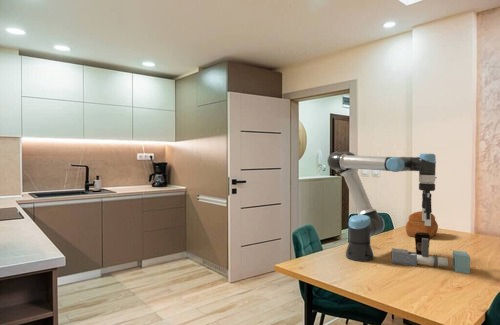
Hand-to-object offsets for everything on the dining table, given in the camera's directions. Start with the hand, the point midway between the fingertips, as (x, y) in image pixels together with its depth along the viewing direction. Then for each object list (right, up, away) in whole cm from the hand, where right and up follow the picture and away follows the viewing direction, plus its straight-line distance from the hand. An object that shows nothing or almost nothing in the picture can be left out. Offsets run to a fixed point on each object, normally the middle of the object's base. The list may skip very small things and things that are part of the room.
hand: (426, 223), depth 170 cm
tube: (-3, -22, +1) cm, 23 cm away
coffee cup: (+7, -22, +17) cm, 29 cm away
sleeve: (-10, -22, +4) cm, 25 cm away
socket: (+14, -23, -7) cm, 27 cm away
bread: (+32, -21, +65) cm, 76 cm away
